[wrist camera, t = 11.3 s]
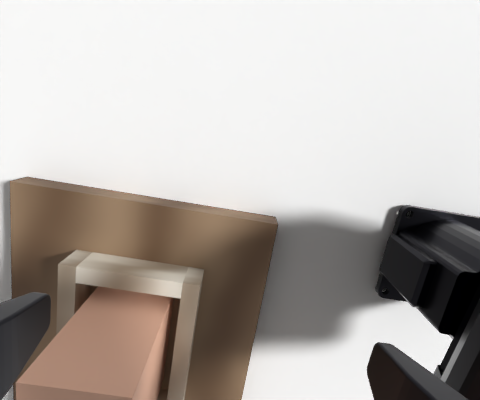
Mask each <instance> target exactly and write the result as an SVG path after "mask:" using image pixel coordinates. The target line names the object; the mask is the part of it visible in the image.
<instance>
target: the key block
mask: <svg viewBox="0 0 480 400" xmlns="http://www.w3.org/2000/svg"><path fill="white" fill-rule="evenodd" d="M172 306H173V297H167V296H160V295H153V294H147V293H140V292H133V291H127V290H120V289H113V288H107V287H100V286H98V287H97V288H96V290H95V291H94V292H93V293H92V294H91V295H90V297H89V298H88V299H87V300H86V301H85V302H84V304H83V305H82V306H81V307H80V308H79V309H78V311H77V312H76V313H75V314H74V315H73V316H72V318H71V319H70V320H69V321H68V322H67V323H66V325H65V326H64V327H63V328H62V329H61V330H60V332H59V333H58V334H57V335H56V336H55V337H54V339H53V340H52V341H51V342H50V343H49V344H48V346H47V347H46V348H45V349H44V350H43V351H42V353H41V354H40V355H39V356H38V357H37V358H36V360H35V361H34V362H33V363H32V364H31V365H30V367H29V368H28V369H27V370H26V371H25V372H24V374H23V375H22V376H21V377H20V378H19V379H18V381H17V382H16V400H157V399H158V395H159V392H160V388H161V385H162V382H163V378H164V370H165V362H166V354H167V346H168V338H169V330H170V322H171V314H172Z"/></svg>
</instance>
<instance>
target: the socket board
mask: <svg viewBox="0 0 480 400" xmlns="http://www.w3.org/2000/svg"><path fill="white" fill-rule="evenodd" d="M10 214H11V273H12V299H14V298H17V297H20V296H23V295H25V294H28V293H31V292H39V293H46V294H49V295H50V297H51V321H50V325H49V328H48V330H47V332H46V333H45V335H44V336H43V338H42V340H41V341H40V343H39V344H38V346H37V348H36V349H35V351H34V352H33V354H32V356H31V357H30V359H29V360H28V362H27V363H26V365H25V367H24V368H23V370H22V371H21V373H20V375H19V376H18V378H17V379H16V381H15V382H14V384H13V392H14V400H16V382H17V381H18V379H19V378H20V377H21V376H22V375H23V374H24V372H25V371H26V370H27V369H28V368H29V367H30V365H31V364H32V363H33V362H34V361H35V360H36V358H37V357H38V356H39V355H40V354H41V353H42V351H43V350H44V349H45V348H46V347H47V346H48V344H49V343H50V342H51V341H52V340H53V339H54V337H55V336H56V335H57V334H58V333H59V332H60V330H61V329H62V328H63V327H64V326H65V325H66V323H67V322H68V321H69V320H70V319H71V318H72V316H73V315H74V314H75V313H76V312H77V311H78V309H79V308H80V307H81V306H82V305H83V304H84V302H85V301H86V300H87V299H88V298H89V297H90V295H91V294H92V293H93V292H94V291H95V290H96V288H97V287H98V286H100V287H107V288H113V289H120V290H127V291H133V292H140V293H147V294H153V295H160V296H167V297H173V306H172V314H171V322H170V330H169V338H168V346H167V354H166V362H165V370H164V378H163V382H162V385H161V388H160V392H159V395H158V399H157V400H241V399H242V394H243V389H244V385H245V380H246V375H247V370H248V365H249V361H250V356H251V351H252V346H253V342H254V337H255V332H256V327H257V322H258V318H259V313H260V308H261V303H262V299H263V294H264V289H265V284H266V279H267V275H268V270H269V265H270V260H271V256H272V251H273V246H274V241H275V237H276V232H277V227H278V223H277V220H276V217H272V216H266V215H260V214H254V213H248V212H241V211H235V210H229V209H223V208H217V207H211V206H204V205H198V204H192V203H186V202H180V201H173V200H167V199H161V198H155V197H149V196H143V195H136V194H130V193H124V192H118V191H112V190H106V189H99V188H93V187H87V186H81V185H75V184H68V183H62V182H56V181H50V180H44V179H38V178H31V177H24V178H21V179H17V180H13V181H10Z"/></svg>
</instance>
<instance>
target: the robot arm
mask: <svg viewBox="0 0 480 400" xmlns="http://www.w3.org/2000/svg"><path fill="white" fill-rule="evenodd" d="M408 211H411V214H410V215H409V216H406V213H407V212H408ZM384 288H387V289H386V291H384V292H382V290H383V289H384ZM376 292H377V293H378V295H379V296H380V297H382V298H387V299H394V300H400V301H407V302H408V303H409V304H410V305H411V306H413V307H416V308H417V309H418V310H419V311H420V312H421V313H422V314H423V315H424V316H425V318H426V319H427V320H428V321H429V322H430V323H431V324H432V325H433V326H434V327H435V328H436V329H437V330H438V331H439V332H440V333H442V334H448V335H449V336H450V337H451V338H452V339H453V340H452V342H451V344H450V346H449V349H448V351H447V353H446V355H445V357H444V359H443V361H442V363H441V365H438V366H437V368H436V370H435V372H434V374H432V373H431V372H429V371H428V370H427V369H425V368H424V367H422V366H421V365H420V364H418V363H417V362H416V361H414V360H413V359H411V358H410V357H409V356H407V355H406V354H404V353H403V352H402V351H400V350H399V349H398V348H396V347H395V346H393V345H391V344H387V343H380V342H378V343H376V344H375V345H374V347H373V350H372V354H371V357H370V360H369V363H368V366H367V375H368V379H369V383H370V386H371V390H372V394H373V397H374V400H480V217H476V216H470V215H464V214H458V213H452V212H446V211H440V210H434V209H428V208H422V207H416V206H410V205H406V206H403V207H402V208H401V209H400V211H399V214H398V217H397V220H396V224H395V227H394V230H393V233H392V235H391V236H390V237H389V240H388V243H387V246H386V250H385V253H384V256H383V259H382V263H381V266H380V275H379V279H378V282H377V285H376ZM50 321H51V297H50V295H49V294H46V293H39V292H31V293H28V294H25V295H23V296H20V297H17V298H14V299H11V300H8V301H5V302H2V303H0V400H2V398H3V397H4V396H5V395H6V393H7V392H8V390H9V389H10V388H11V386H12V385H13V384H14V382H15V381H16V379H17V378H18V376H19V375H20V373H21V371H22V370H23V368H24V367H25V365H26V363H27V362H28V360H29V359H30V357H31V356H32V354H33V352H34V351H35V349H36V348H37V346H38V344H39V343H40V341H41V340H42V338H43V336H44V335H45V333H46V332H47V330H48V328H49V325H50Z"/></svg>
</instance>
